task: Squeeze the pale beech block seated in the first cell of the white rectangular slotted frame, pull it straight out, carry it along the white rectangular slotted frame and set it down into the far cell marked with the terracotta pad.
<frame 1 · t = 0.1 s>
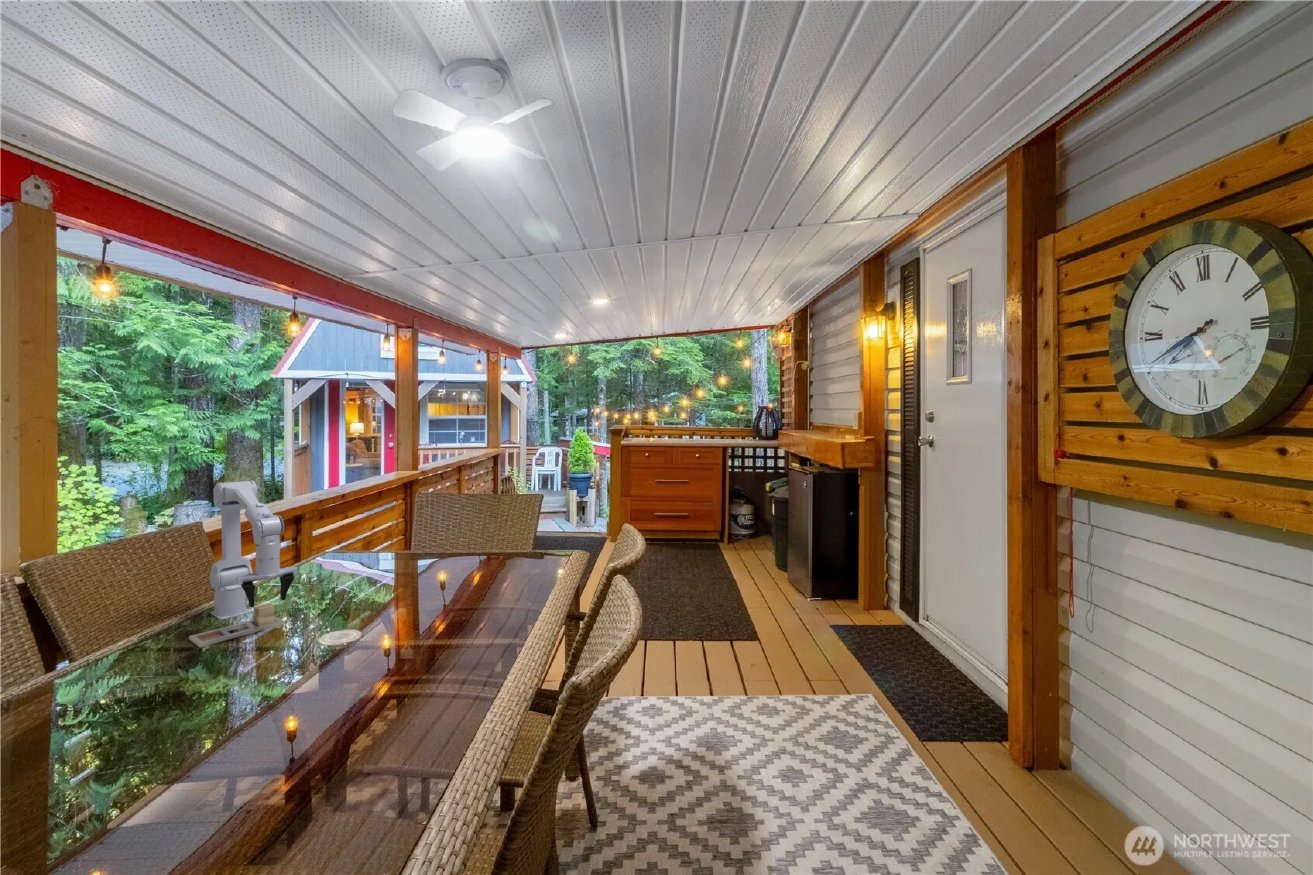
hand: (267, 602, 154), 10 cm above the table, tool pointing down, fingers open, 7 cm apart
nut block: (263, 624, 161), resting in white rectangular slotted frame
white rectangular slotted frame: (238, 631, 155), on the table
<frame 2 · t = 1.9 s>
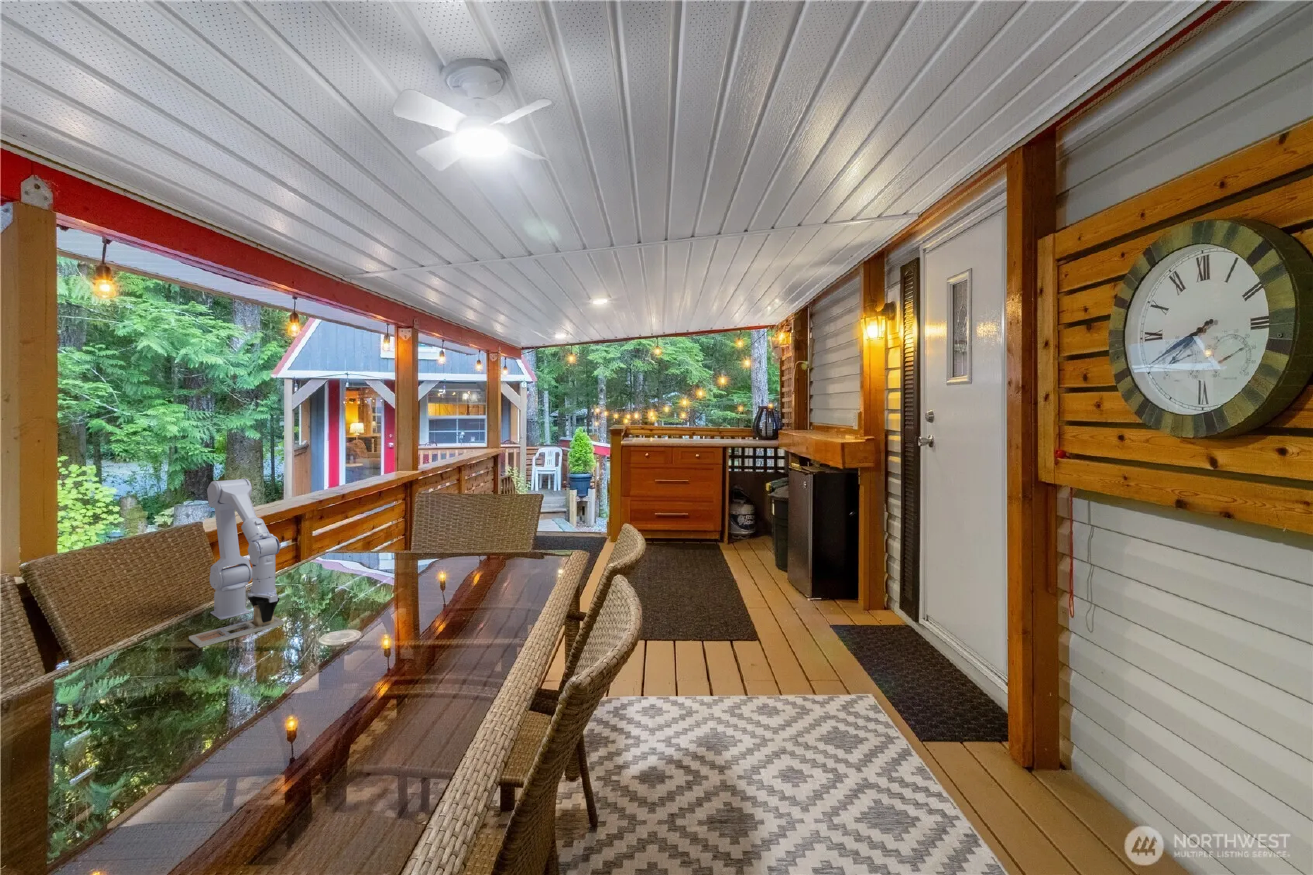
hand: (263, 619, 161), 2 cm above the table, tool pointing down, fingers closed on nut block, 4 cm apart
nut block: (263, 624, 161), resting in white rectangular slotted frame, touching gripper
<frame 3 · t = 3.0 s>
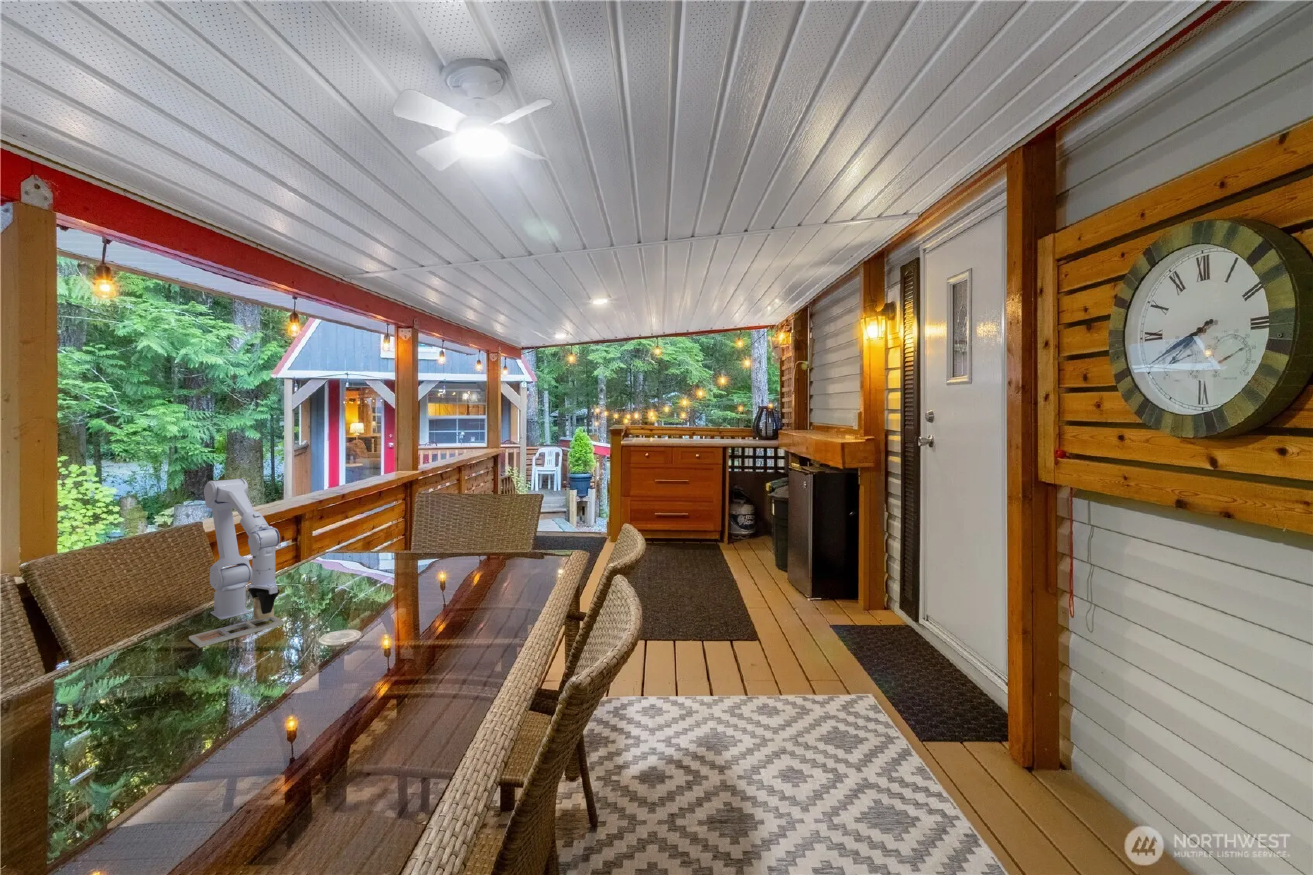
hand: (263, 611, 161), 4 cm above the table, tool pointing down, fingers closed on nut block, 4 cm apart
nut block: (263, 616, 161), point 3 cm above the table, touching gripper
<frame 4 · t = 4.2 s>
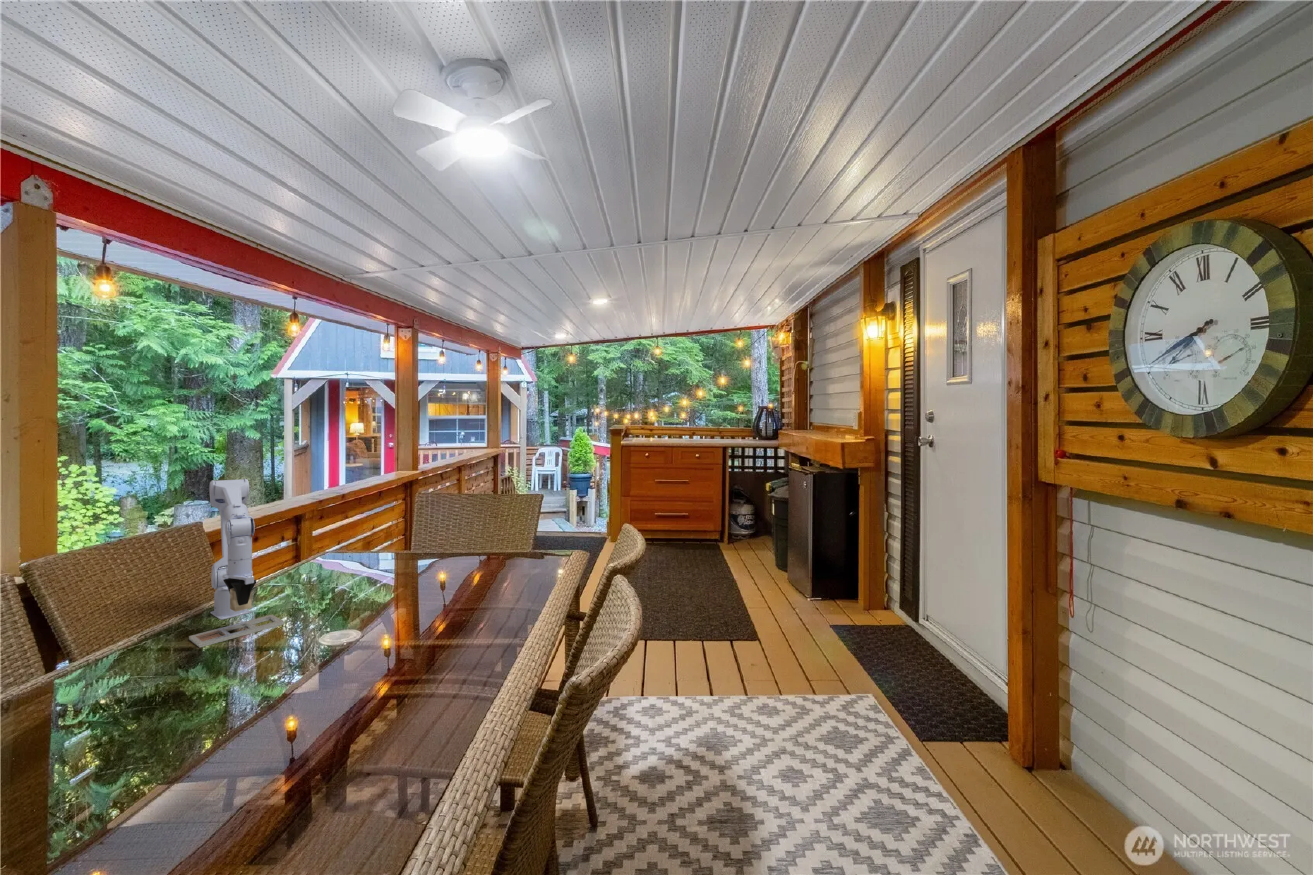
hand: (239, 602, 155), 9 cm above the table, tool pointing down, fingers closed on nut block, 4 cm apart
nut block: (240, 608, 156), point 7 cm above the table, touching gripper
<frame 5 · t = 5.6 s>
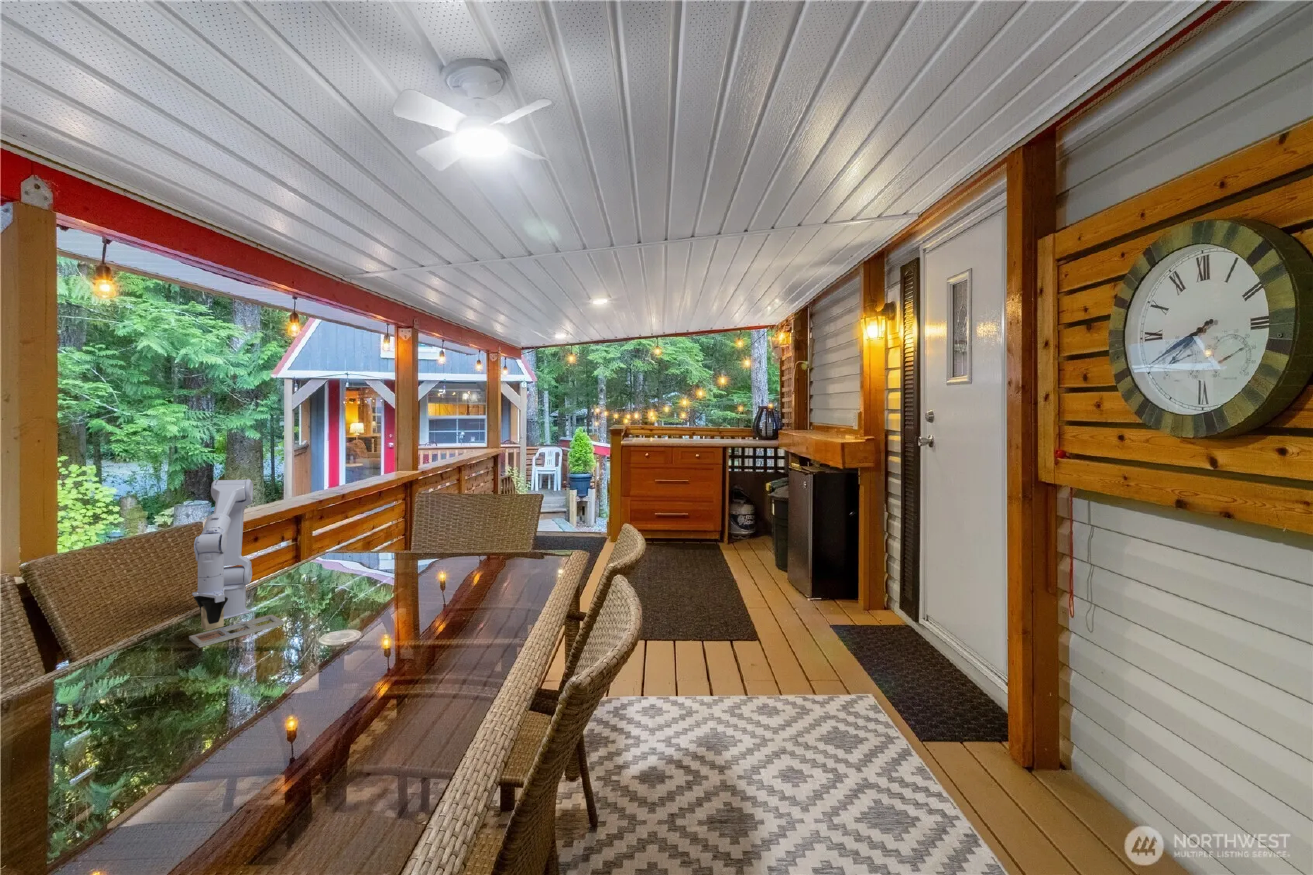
hand: (210, 621, 150), 5 cm above the table, tool pointing down, fingers closed on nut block, 4 cm apart
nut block: (212, 626, 150), point 4 cm above the table, touching gripper
when the fingers open (3 cm above the table, at t = 6.6 s): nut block stays where it is, resting on white rectangular slotted frame.
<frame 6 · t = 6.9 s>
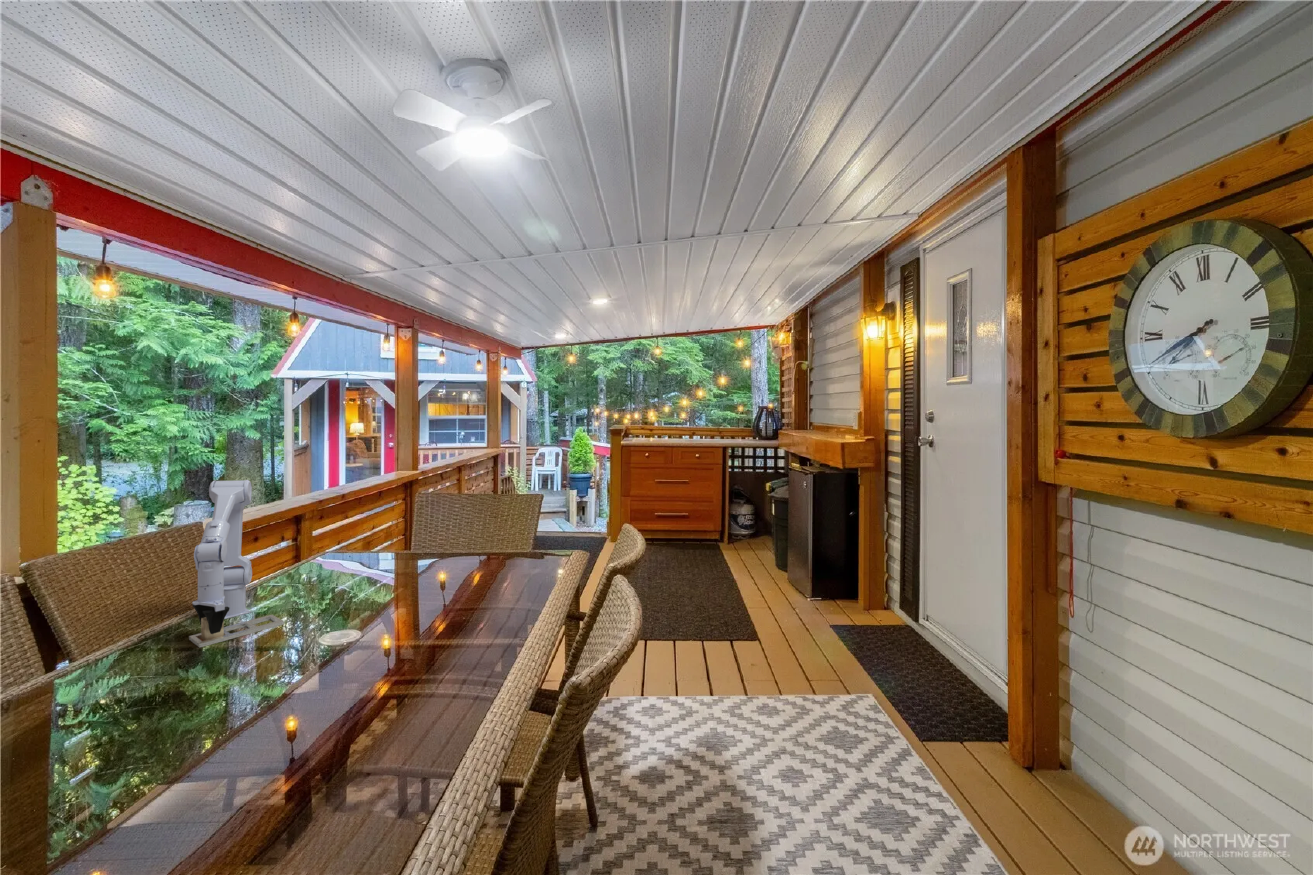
hand: (210, 629, 150), 3 cm above the table, tool pointing down, fingers open, 6 cm apart
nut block: (212, 637, 150), resting on white rectangular slotted frame
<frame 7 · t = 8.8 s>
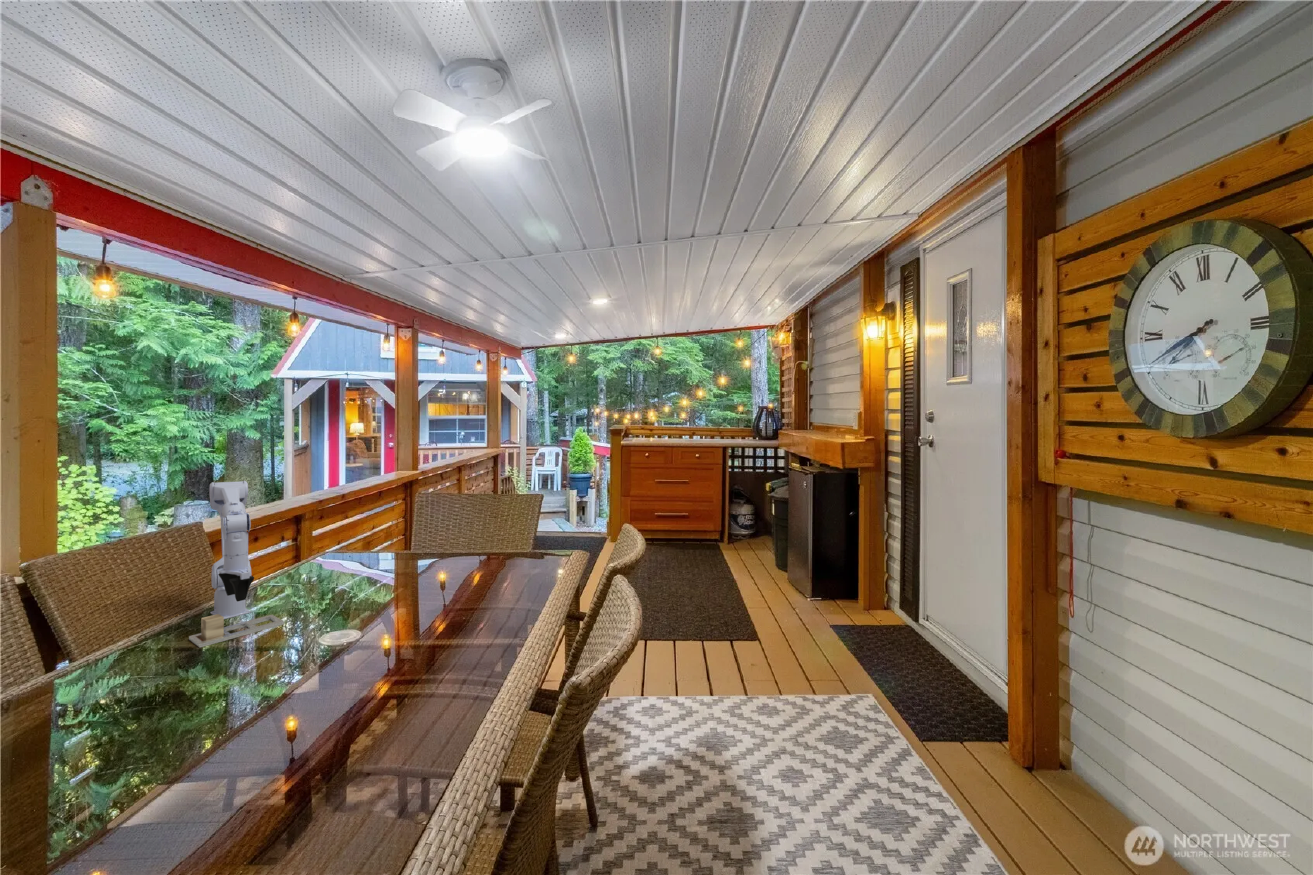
hand: (236, 597, 158), 9 cm above the table, tool pointing down, fingers open, 7 cm apart
nothing on the table moved.
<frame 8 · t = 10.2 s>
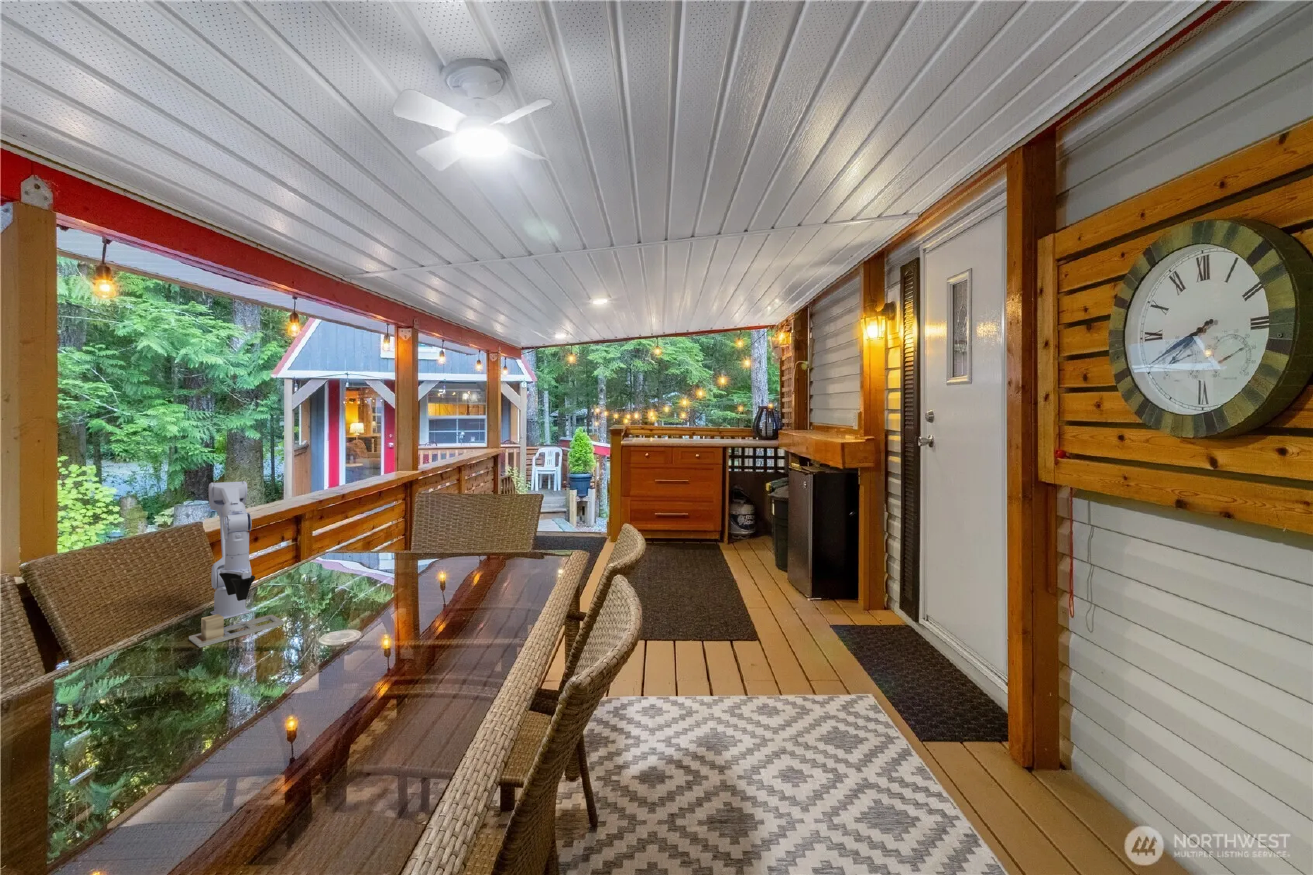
hand: (237, 597, 158), 9 cm above the table, tool pointing down, fingers open, 7 cm apart
nothing on the table moved.
at the end: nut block 0.4 cm from the target spot, resting on white rectangular slotted frame; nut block tilted 0°; the gripper is holding nothing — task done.
